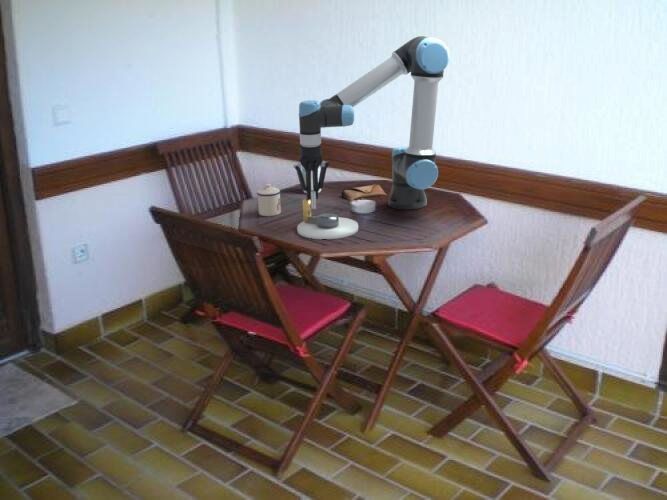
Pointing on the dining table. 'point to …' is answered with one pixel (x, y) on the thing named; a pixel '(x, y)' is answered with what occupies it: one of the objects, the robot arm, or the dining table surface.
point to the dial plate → (328, 230)
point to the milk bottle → (311, 178)
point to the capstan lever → (319, 216)
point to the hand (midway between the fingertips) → (312, 207)
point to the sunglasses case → (363, 192)
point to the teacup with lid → (269, 201)
